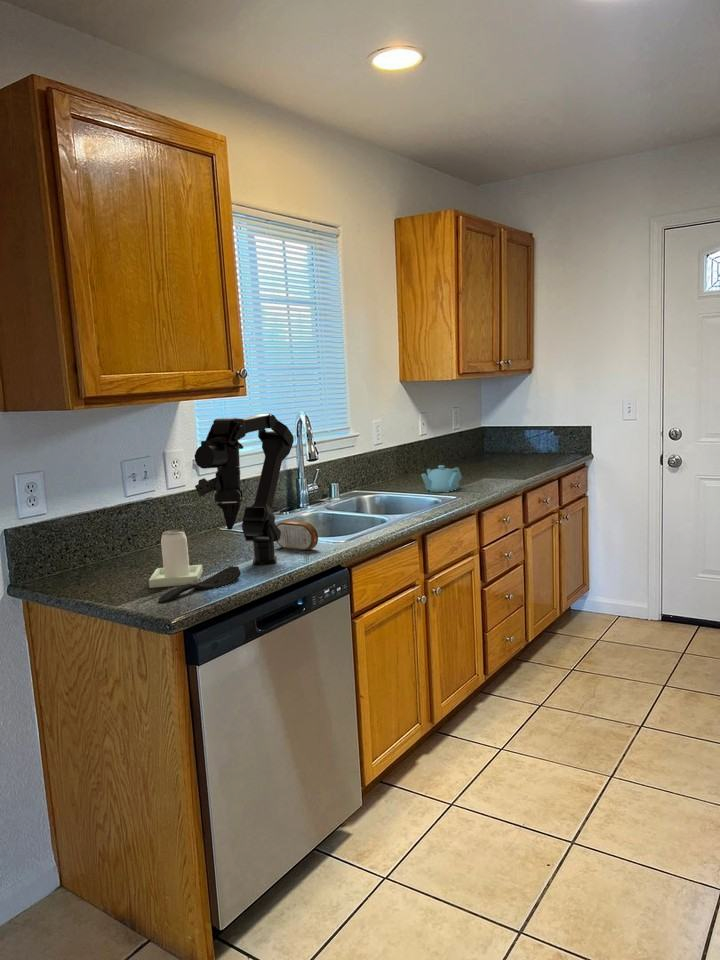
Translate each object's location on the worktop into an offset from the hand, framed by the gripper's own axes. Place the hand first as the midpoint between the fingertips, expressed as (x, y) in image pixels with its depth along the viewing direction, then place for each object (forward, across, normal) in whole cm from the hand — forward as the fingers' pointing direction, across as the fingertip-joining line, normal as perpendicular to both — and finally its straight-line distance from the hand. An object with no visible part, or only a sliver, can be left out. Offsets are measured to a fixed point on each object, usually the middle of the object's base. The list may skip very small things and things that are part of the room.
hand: (230, 527), depth 191 cm
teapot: (0, -113, +82) cm, 140 cm away
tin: (+10, -27, +17) cm, 34 cm away
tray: (+13, -3, -14) cm, 20 cm away
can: (+13, -3, -14) cm, 19 cm away
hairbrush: (+15, +8, -8) cm, 18 cm away
